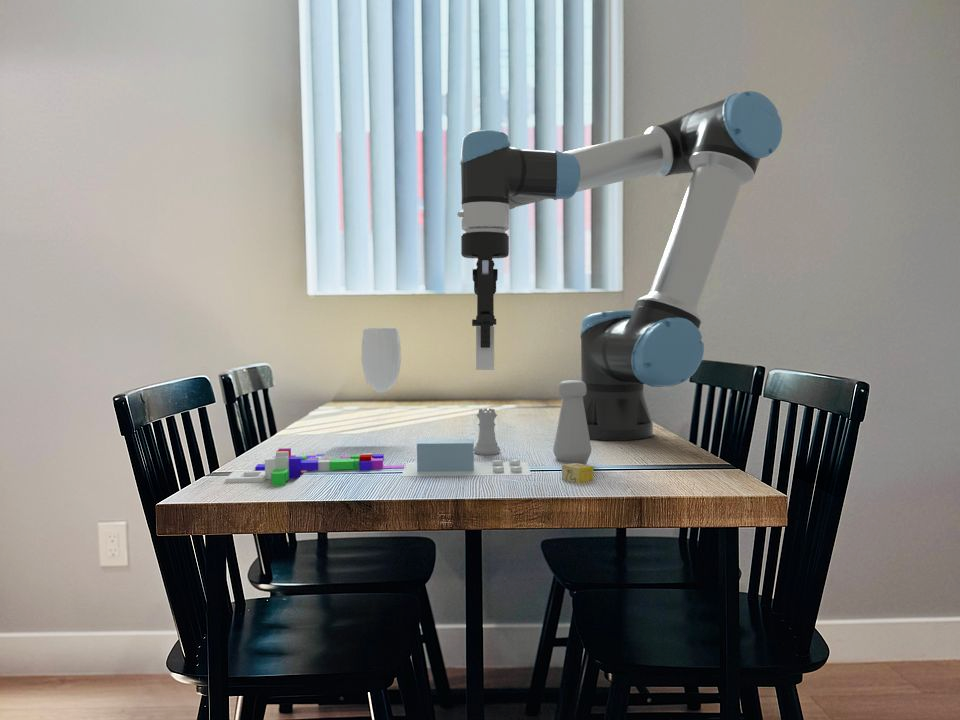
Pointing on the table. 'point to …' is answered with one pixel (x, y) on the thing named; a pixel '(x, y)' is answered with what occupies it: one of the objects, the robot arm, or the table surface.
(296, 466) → the building block set
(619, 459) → the table surface
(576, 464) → the alphabet block
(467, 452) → the blue brick
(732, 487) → the table surface
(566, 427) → the salt shaker
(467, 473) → the build plate
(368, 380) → the cup
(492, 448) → the rook chess piece
